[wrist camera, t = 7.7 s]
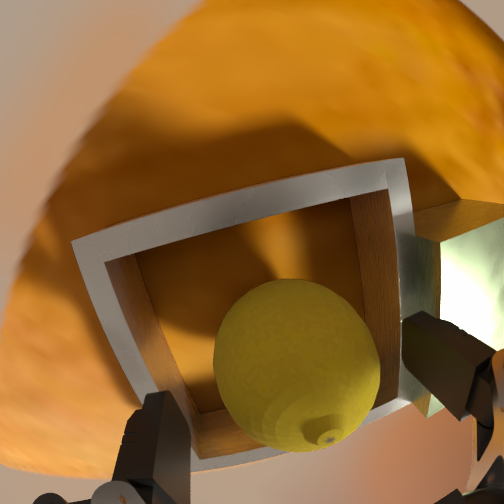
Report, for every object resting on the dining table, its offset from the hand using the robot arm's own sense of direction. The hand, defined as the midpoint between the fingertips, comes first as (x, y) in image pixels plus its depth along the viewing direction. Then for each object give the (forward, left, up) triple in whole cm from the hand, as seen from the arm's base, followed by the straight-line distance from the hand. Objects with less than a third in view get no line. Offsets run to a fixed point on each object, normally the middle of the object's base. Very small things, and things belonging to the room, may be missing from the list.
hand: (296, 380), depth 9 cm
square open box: (-4, 0, -5) cm, 6 cm away
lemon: (0, 0, -5) cm, 5 cm away
